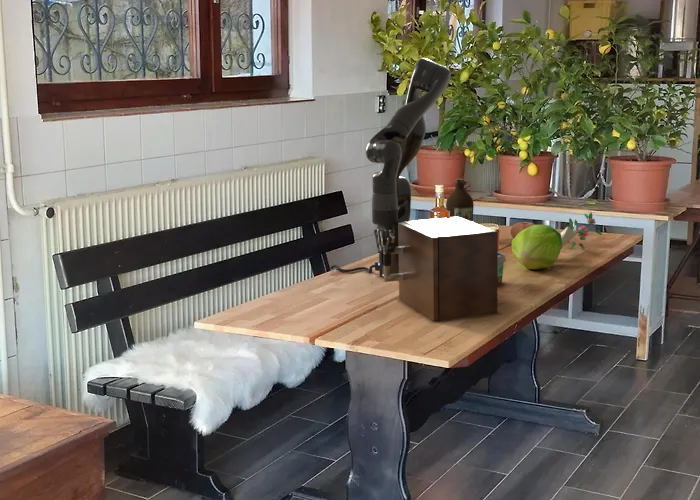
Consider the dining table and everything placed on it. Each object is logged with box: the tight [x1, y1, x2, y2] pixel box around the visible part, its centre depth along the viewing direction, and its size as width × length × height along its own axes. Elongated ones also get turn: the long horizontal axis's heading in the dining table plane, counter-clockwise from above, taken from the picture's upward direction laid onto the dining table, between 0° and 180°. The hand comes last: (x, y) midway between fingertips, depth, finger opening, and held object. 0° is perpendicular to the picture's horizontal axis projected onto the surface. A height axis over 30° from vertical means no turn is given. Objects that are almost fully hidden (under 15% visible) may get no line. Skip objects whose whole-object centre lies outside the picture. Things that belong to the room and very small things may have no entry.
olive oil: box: [445, 178, 475, 222], centre depth 361 cm, size 11×11×25 cm
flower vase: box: [559, 211, 603, 250], centre depth 342 cm, size 12×12×35 cm
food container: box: [497, 250, 507, 288], centre depth 298 cm, size 12×6×10 cm, turn 168°
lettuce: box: [511, 223, 563, 271], centre depth 317 cm, size 17×20×15 cm
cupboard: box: [403, 217, 499, 322], centre depth 273 cm, size 18×26×24 cm
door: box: [383, 222, 440, 322], centre depth 269 cm, size 7×26×24 cm, turn 19°
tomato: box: [510, 221, 536, 240], centre depth 362 cm, size 11×11×8 cm
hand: (386, 264), depth 278 cm, fingers closed on door, 2 cm apart
